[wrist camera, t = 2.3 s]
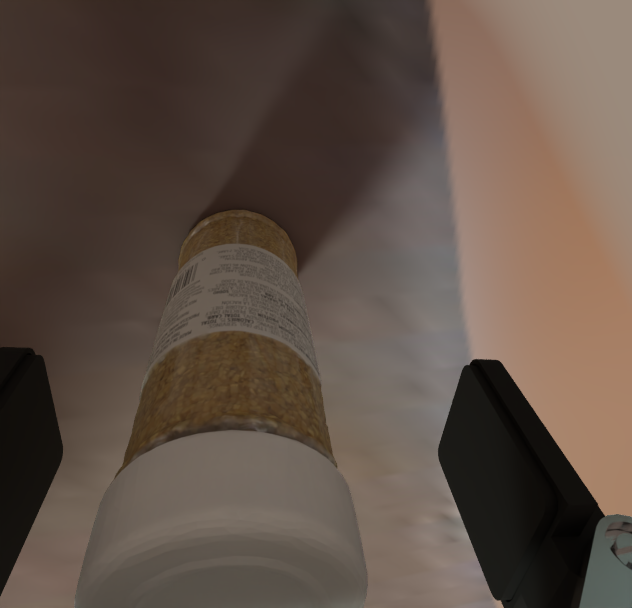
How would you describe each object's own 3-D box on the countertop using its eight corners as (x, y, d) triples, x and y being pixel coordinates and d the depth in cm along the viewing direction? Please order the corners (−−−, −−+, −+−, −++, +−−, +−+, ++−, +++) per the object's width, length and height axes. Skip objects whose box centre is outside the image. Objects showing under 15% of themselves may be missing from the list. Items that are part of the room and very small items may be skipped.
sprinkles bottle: (242, 331, 21) (234, 724, 9) (153, 262, 19) (-2, 651, 7) (321, 259, 19) (431, 605, 8) (235, 178, 18) (213, 478, 6)
